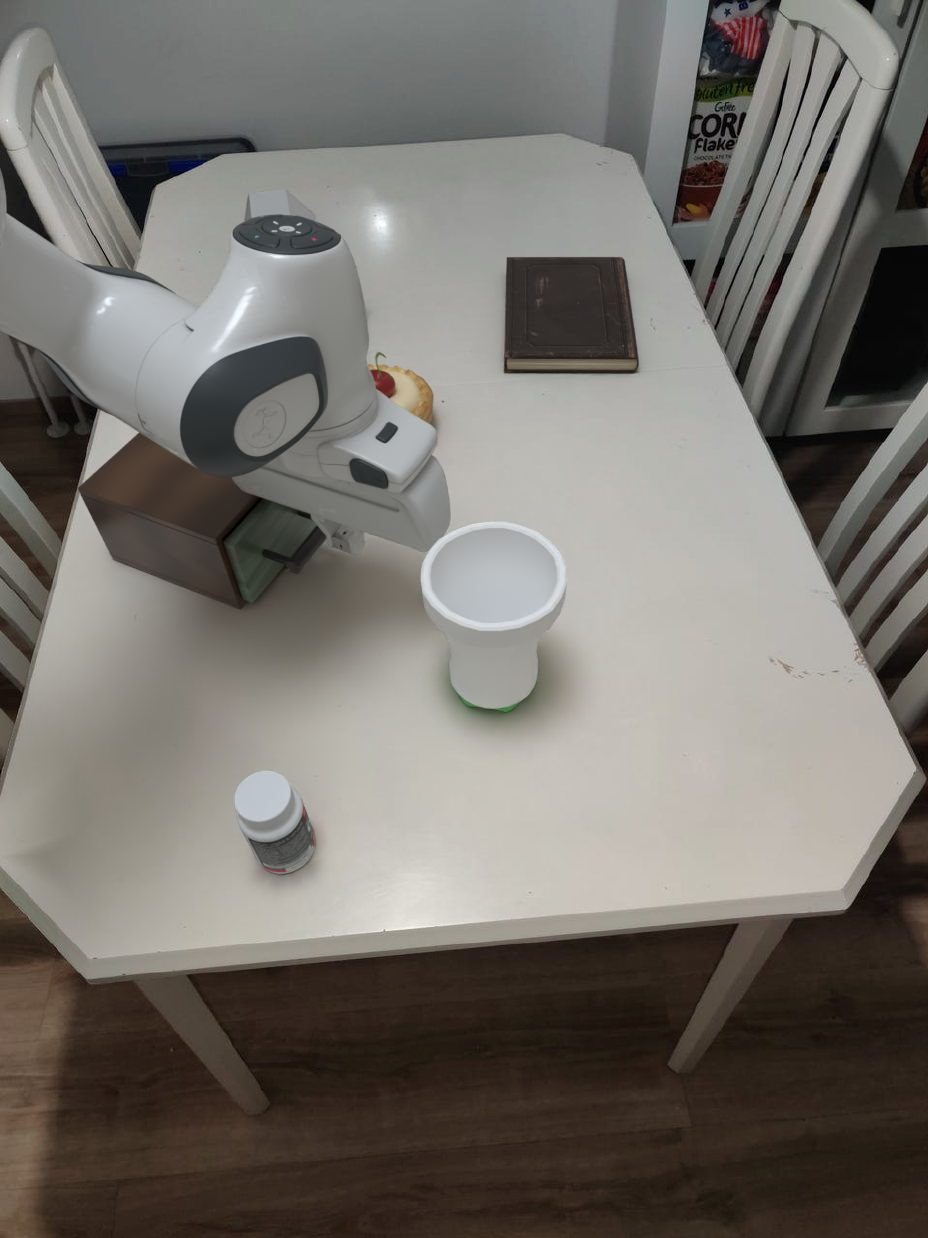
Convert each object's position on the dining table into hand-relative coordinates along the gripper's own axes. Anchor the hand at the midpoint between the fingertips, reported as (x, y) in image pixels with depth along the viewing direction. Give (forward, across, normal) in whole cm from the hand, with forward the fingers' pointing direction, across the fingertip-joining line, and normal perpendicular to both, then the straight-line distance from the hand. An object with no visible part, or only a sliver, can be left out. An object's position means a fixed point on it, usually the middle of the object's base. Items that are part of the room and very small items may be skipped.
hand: (347, 546), depth 79 cm
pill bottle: (+6, +8, -25) cm, 27 cm away
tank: (+6, -29, +36) cm, 47 cm away
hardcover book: (+6, +2, +51) cm, 51 cm away
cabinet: (+6, -16, 0) cm, 17 cm away
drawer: (+5, -12, 0) cm, 13 cm away
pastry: (+6, -9, +22) cm, 25 cm away
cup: (+6, +17, -4) cm, 18 cm away
